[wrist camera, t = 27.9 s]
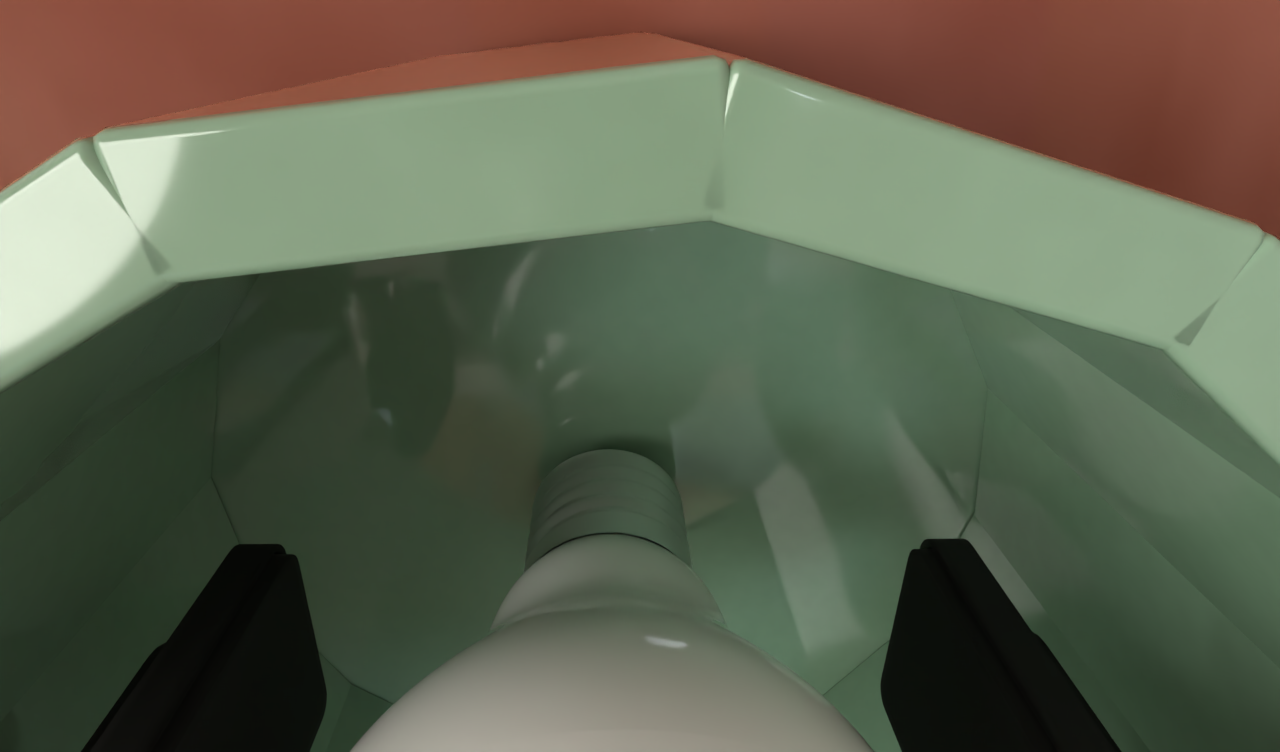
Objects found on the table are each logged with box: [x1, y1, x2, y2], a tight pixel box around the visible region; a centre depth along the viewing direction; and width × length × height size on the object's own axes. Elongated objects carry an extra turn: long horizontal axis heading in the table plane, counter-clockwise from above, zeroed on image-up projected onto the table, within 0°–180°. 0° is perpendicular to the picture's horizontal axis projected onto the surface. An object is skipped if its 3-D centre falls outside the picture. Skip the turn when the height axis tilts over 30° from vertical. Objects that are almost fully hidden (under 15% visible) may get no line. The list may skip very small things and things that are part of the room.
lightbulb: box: [349, 449, 875, 752], centre depth 9 cm, size 6×6×11 cm
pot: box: [0, 32, 1280, 752], centre depth 11 cm, size 16×21×8 cm
